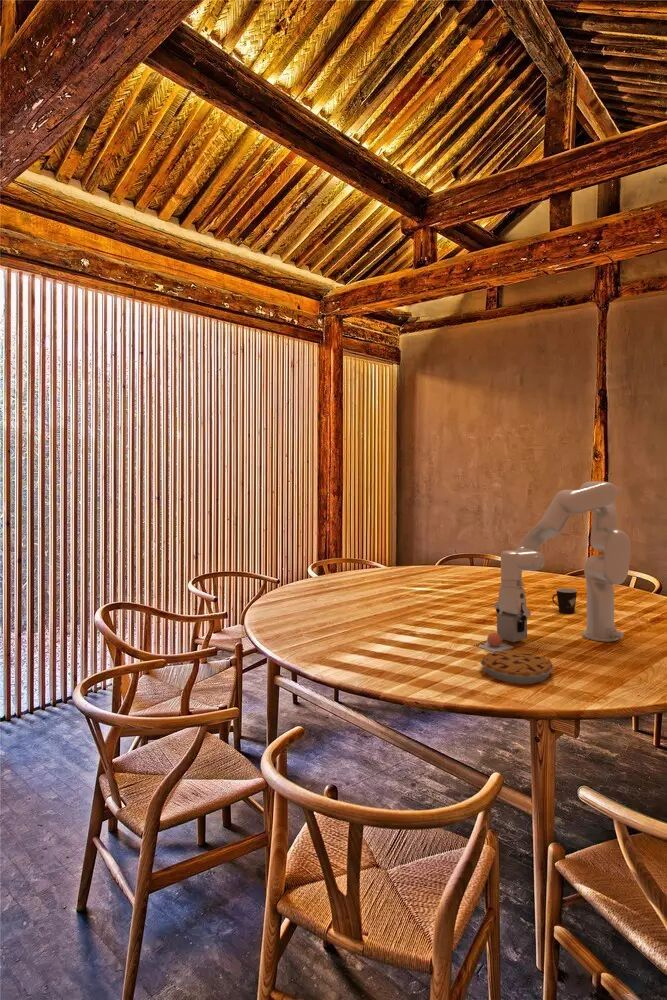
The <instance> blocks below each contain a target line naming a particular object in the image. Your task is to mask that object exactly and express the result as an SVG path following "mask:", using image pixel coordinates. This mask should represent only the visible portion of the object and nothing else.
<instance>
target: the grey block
mask: <svg viewBox="0 0 667 1000" xmlns="http://www.w3.org/2000/svg"><path fill="white" fill-rule="evenodd" d="M520 617H521V615H520ZM521 618H522V617H521ZM518 622H519V620H518V618H517V616H516V615H514V614H510V613H506V612H505V613H501V614H498V613H497V614H496V633H497V634H499V635H500V637H501V640H502V639H503V640H506V641H509V642H511V643H516V642H519V641H522V640H526V639H528V619H527V620H526V621H525V629H524V632H520V633H519V632H518V626H517V623H518Z"/></svg>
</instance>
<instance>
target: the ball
mask: <svg viewBox="0 0 667 1000" xmlns="http://www.w3.org/2000/svg"><path fill="white" fill-rule="evenodd" d="M486 642H488V643H489V644H490V645H491V646H493V647H497V646H499V645H500V644H501V643H502V638H501V637H500V635H499V634H497V632H491V633H490V634H489V635H487V639H486Z"/></svg>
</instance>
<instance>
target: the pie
mask: <svg viewBox="0 0 667 1000" xmlns="http://www.w3.org/2000/svg"><path fill="white" fill-rule="evenodd" d="M482 657H483V658H481V661H480V664H481V665H482V666H483V668H484V671H485V673H486V674H488V675H489V676H490V677H492V678H494V679H497V680H498V681H499V680H500V681H502V682H506V683H510V684H517V685H528V684H529V685H531V684H532V685H533V684H537V683H540V682H543V681H545V680H546V679H548V678H549V677H550V674H551V672H553V670H554V664H553V662H552V661H551V660H550V659H547V658H546V657H545V656H543V655H537V654H536V653H535V652H525V650H524V651H523V650H517V651H516V650H515V651H514V650H512V649H507V650H503V651H495V653H494V652H487V653H486V655H483V656H482Z"/></svg>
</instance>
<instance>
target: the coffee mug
mask: <svg viewBox="0 0 667 1000" xmlns="http://www.w3.org/2000/svg"><path fill="white" fill-rule="evenodd" d="M577 593H578V590H577V589H574V588H567V587H565V588H564V587H562V588H561V587H560V588H557V589H556V593H555V594H553V595H552V597H551V600H552V602H553V604H555V606H557V607H558V612H559V613H561V614H566V615H571V614H575V612H576V611H575V610H576V601H577ZM555 597H556V598H557V602H556V601H555V600H554V598H555Z"/></svg>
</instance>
